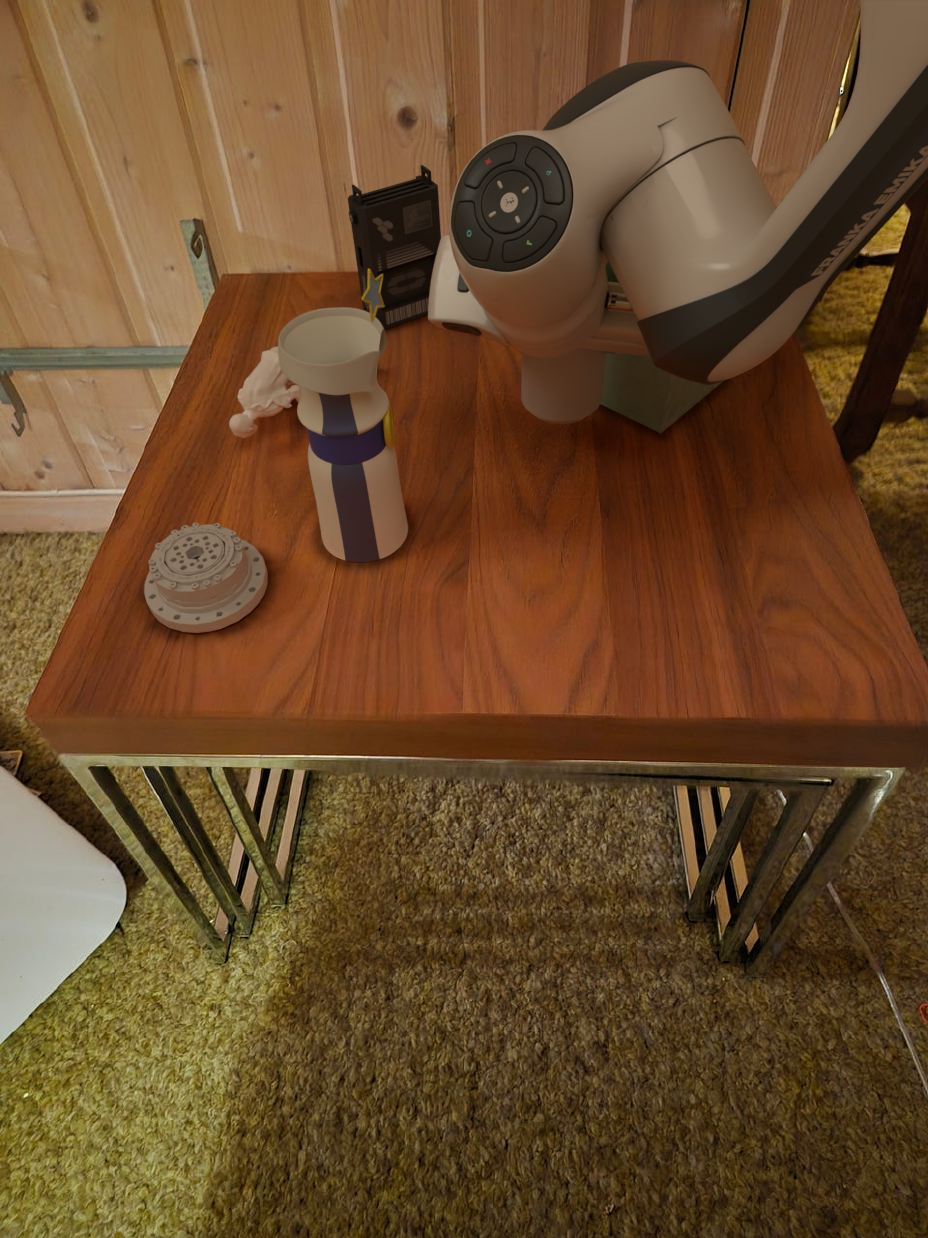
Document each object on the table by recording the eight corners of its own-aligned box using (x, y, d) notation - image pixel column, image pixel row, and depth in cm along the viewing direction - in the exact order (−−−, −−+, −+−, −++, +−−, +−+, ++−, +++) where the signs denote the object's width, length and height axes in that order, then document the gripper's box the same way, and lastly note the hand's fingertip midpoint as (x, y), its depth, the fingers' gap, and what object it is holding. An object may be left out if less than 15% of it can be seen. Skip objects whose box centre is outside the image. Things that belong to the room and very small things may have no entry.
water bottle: (413, 494, 77) (384, 222, 58) (412, 562, 72) (378, 286, 52) (324, 498, 77) (265, 227, 58) (316, 565, 72) (247, 292, 52)
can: (580, 438, 75) (591, 316, 66) (506, 415, 78) (507, 295, 69) (613, 394, 79) (627, 273, 70) (541, 373, 82) (547, 254, 73)
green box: (725, 379, 86) (746, 290, 79) (660, 433, 81) (676, 344, 74) (610, 329, 93) (620, 243, 86) (544, 376, 88) (548, 289, 80)
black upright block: (434, 288, 100) (425, 155, 88) (453, 305, 98) (446, 170, 86) (356, 315, 97) (335, 180, 85) (373, 333, 94) (355, 197, 83)
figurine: (322, 396, 94) (204, 430, 80) (328, 323, 90) (204, 346, 76) (373, 415, 92) (260, 453, 78) (381, 341, 88) (263, 368, 74)
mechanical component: (284, 607, 69) (249, 532, 75) (273, 571, 65) (237, 495, 71) (164, 652, 66) (138, 570, 72) (146, 617, 63) (120, 534, 69)
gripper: (701, 261, 58) (692, 315, 72) (420, 231, 62) (462, 288, 76) (682, 353, 59) (677, 390, 72) (407, 318, 63) (450, 359, 76)
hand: (565, 338), depth 74 cm, fingers closed on can, 7 cm apart
